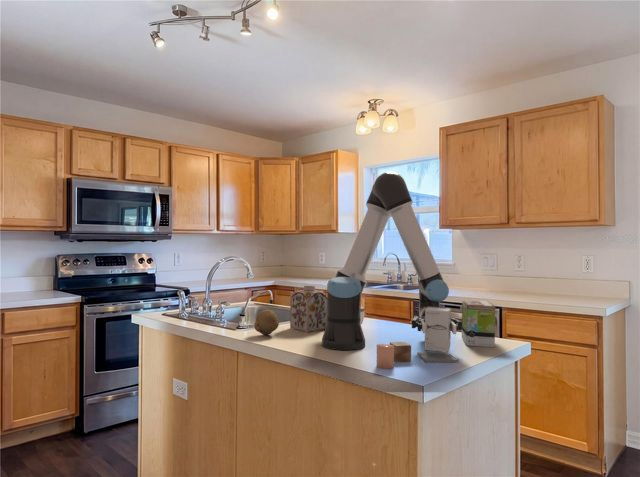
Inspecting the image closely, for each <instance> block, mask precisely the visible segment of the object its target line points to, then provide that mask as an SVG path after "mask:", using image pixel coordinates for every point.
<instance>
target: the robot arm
mask: <svg viewBox="0 0 640 477" xmlns="http://www.w3.org/2000/svg"><path fill="white" fill-rule="evenodd" d="M412 204H413V199H412V197H411V195H410V191H409V189H408V185H407V183H406V180H405V179H404V178H403V176H402V175H400V174H398V173H397V172H394V171H386V172H383V173H381V174H379V175H378V176H377V177H376V179H375V181H374V184H373V185H372V186H371V190H370V194H369V196H368V198H367V200H366V203H365V206H366V207H367V211H366V213H365V216H364V217H363V221H362V222H361V224H360V228H359V231H358V232H357V235H356V237H355V240H354V242H353V245H352V246H351V248H350V251H349V254H348V256H347V259H346V261H345V263H344V266H343V267H342V268H340V269H338V270H337V272H336V274H335V277H331V278H329V279H328V282H327V288H326V290H327V297H328V301H327V325H326V328H325V330H324V332H323V335H322V338H321V346H323V347H324V348H327V349H330V350H336V351H337V350H338V351H352V350H354V351H355V350H360V349H363V348H365V347H366V337H365V335H364V331H363V328H362V324H360V316H361V306H362V305H361V304H362V303H361V301H362V300H361V299H362V297H361V296H362V294H363V292H364V290H365V286H366V284H367V280H366V277H365V276H366V274H367V271H368V268H369V267H370V264H371V263H372V262H371V261H372V259H373V256H374V254H375V252H376V249H377V248H378V245H379V243H380V240H381V238H382V235H383V232H384V231H385V229H386V226H387V223H388V221H389V219H390V218H392V220H393V221H394V224H395V227H396V229H397V232H398V234H399V236H400V238H401V241H402V243H403V246H404V247H405V250H406V252H407V254H408V257H409V259H410V261H411V264H412V267H413V268H414V270H415V273H416V275H417V277H418V296H419V297H418V309H417V310H418V316H417V315H413V318H412V319H411V329H416V328H417V332H422V334H425V333H426V324H425V310H426V309H427V308H428V307H435V308H441V305H440V304H441V303H440V302H443V301H445V300H446V299H447V298H448V296H449V294H450V288H449V286H448V284H447V282H445V281H444V278H443V276H442V274H441V272H440V270H439V268H438V264H437V262H436V260H435V258H434V255H433V254H432V250H431V247H430V246H429V244H428V242H427V240H426V237H425V235H424V233H423V230H422V227H421V226H420V224H419V220H418V218H417V216H416V214H415V212H414V209H413V207H412ZM457 331H462V320H459V319H457V318H455V316H451V333H452V334H453V335H457Z"/></svg>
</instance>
